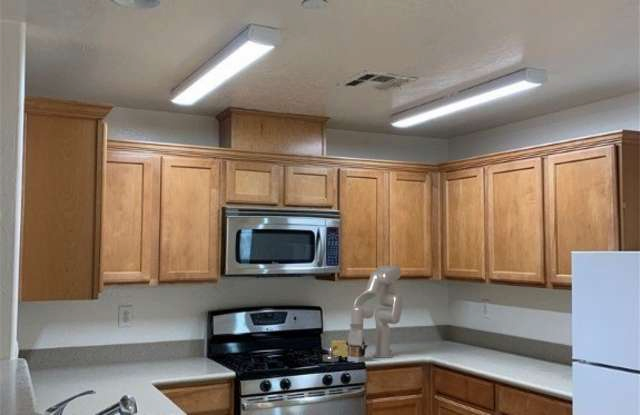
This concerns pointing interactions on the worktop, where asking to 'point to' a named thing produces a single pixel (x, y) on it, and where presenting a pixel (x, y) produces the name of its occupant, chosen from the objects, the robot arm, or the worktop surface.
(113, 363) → the worktop surface
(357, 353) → the brown box
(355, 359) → the stand
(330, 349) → the hub
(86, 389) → the worktop surface
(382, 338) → the robot arm
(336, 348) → the cheese
